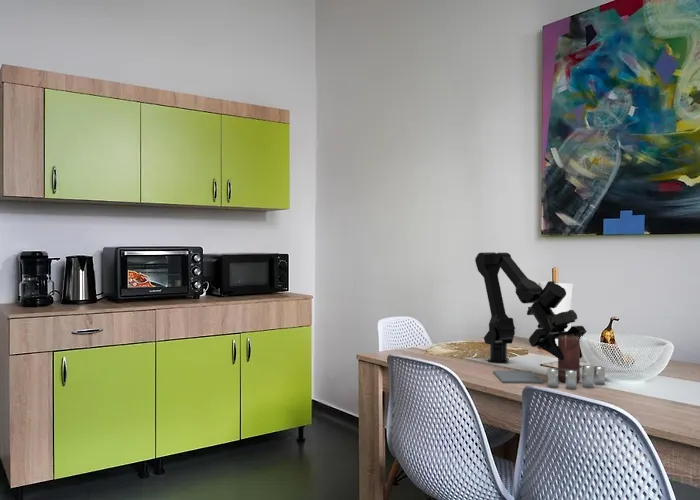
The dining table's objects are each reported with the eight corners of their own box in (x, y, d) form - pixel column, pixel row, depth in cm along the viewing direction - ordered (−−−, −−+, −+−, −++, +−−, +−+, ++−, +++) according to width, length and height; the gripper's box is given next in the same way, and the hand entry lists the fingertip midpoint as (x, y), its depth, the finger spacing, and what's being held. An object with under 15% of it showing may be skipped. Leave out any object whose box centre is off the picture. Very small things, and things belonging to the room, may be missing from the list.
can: (556, 382, 173) (556, 335, 173) (559, 377, 179) (559, 332, 179) (578, 384, 170) (578, 337, 170) (580, 379, 176) (580, 334, 176)
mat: (493, 372, 186) (493, 370, 186) (530, 372, 186) (530, 370, 186) (502, 383, 172) (502, 381, 172) (543, 383, 172) (543, 381, 172)
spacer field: (545, 385, 169) (545, 365, 169) (598, 378, 177) (598, 359, 177) (564, 391, 162) (564, 370, 162) (618, 384, 170) (618, 363, 170)
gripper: (535, 302, 174) (562, 345, 164) (581, 300, 182) (610, 340, 172) (517, 325, 181) (542, 367, 171) (563, 321, 189) (589, 361, 179)
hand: (572, 358), depth 173 cm, fingers open, 7 cm apart
